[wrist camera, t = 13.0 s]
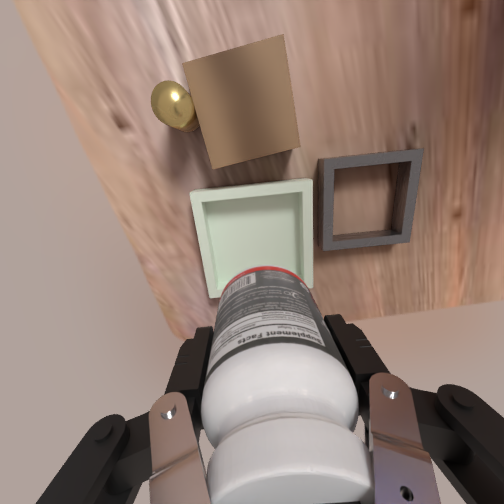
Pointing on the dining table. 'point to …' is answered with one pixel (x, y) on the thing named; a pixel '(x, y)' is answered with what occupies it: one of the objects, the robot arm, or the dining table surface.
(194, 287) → the dining table surface
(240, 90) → the walnut block
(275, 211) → the tray
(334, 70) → the dining table surface
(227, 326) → the pill bottle
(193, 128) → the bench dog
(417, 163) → the collar
